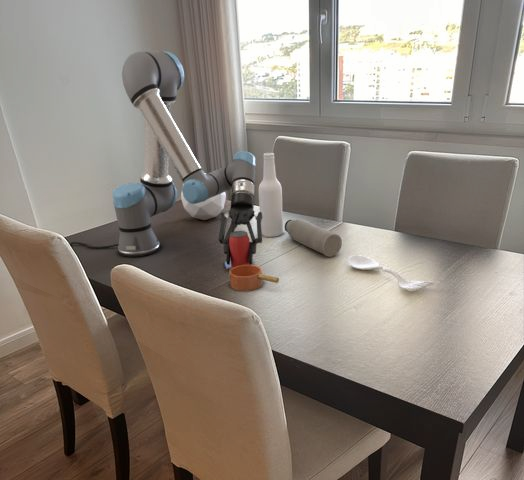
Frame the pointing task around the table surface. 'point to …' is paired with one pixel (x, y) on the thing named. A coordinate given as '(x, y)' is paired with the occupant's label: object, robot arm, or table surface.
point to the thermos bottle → (314, 237)
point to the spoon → (370, 264)
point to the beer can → (239, 248)
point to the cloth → (228, 266)
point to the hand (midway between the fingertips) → (239, 262)
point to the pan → (245, 277)
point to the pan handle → (268, 278)
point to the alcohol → (270, 199)
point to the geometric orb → (205, 207)
